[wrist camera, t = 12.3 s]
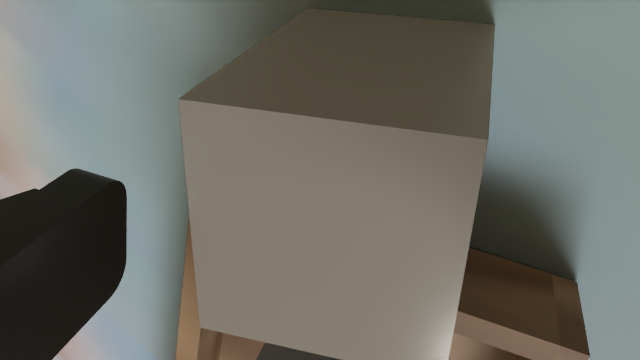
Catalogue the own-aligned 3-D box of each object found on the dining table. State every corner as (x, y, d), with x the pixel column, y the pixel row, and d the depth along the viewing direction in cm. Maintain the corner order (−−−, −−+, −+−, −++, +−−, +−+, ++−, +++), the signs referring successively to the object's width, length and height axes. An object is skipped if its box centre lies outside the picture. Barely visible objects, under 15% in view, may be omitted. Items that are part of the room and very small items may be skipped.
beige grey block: (307, 8, 13) (178, 99, 8) (495, 24, 12) (488, 139, 7) (305, 168, 15) (200, 327, 10) (466, 193, 14) (444, 382, 9)
